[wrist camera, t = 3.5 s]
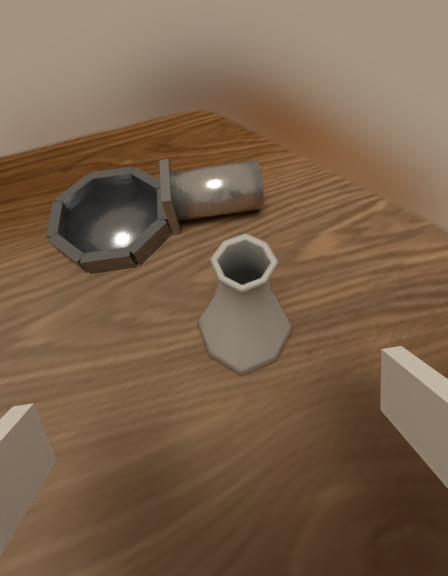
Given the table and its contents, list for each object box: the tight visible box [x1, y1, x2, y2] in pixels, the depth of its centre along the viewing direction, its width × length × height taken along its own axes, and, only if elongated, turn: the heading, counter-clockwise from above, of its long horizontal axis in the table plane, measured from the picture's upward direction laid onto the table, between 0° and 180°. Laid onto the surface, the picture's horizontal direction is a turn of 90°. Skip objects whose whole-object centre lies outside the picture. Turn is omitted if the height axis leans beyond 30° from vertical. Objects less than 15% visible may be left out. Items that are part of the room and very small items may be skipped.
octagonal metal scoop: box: [46, 159, 263, 274], centre depth 27 cm, size 20×11×4 cm, turn 98°
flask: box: [197, 233, 293, 376], centre depth 19 cm, size 7×7×10 cm
